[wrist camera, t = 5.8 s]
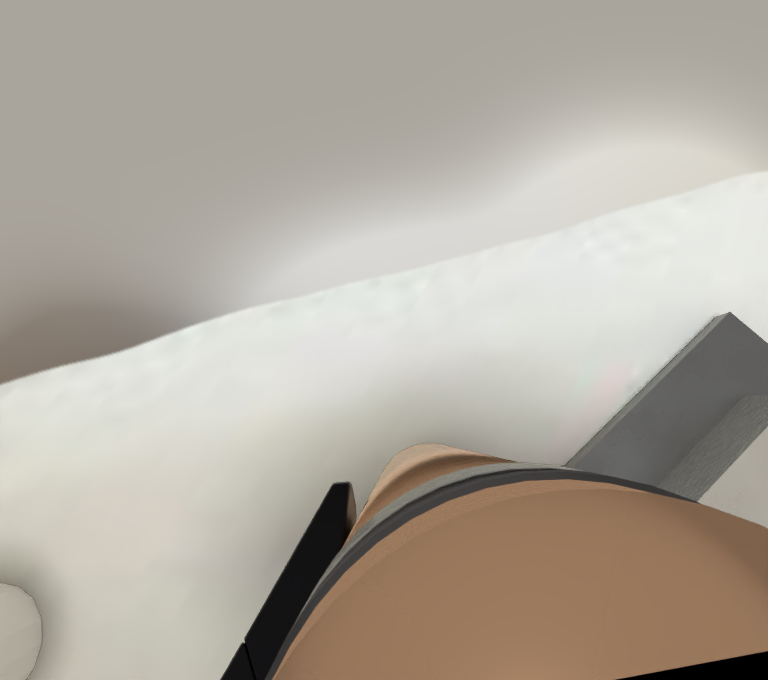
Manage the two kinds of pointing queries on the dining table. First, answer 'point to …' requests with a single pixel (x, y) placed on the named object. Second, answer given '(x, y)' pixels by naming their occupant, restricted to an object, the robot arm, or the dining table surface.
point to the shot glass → (18, 633)
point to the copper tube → (533, 581)
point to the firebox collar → (697, 425)
